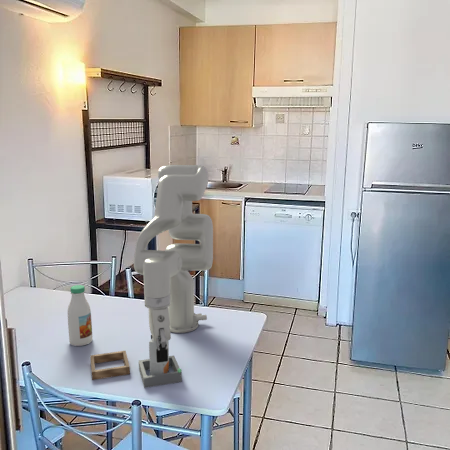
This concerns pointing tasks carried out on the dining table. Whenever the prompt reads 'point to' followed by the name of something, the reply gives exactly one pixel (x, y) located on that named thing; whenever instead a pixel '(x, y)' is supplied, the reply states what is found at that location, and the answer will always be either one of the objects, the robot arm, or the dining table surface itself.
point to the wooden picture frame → (109, 371)
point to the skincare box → (154, 366)
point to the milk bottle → (79, 318)
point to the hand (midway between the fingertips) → (159, 353)
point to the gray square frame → (160, 378)
